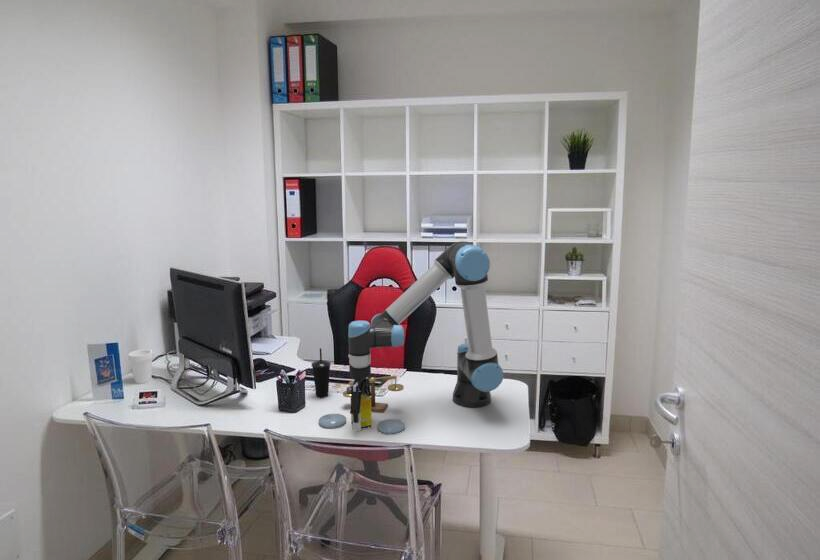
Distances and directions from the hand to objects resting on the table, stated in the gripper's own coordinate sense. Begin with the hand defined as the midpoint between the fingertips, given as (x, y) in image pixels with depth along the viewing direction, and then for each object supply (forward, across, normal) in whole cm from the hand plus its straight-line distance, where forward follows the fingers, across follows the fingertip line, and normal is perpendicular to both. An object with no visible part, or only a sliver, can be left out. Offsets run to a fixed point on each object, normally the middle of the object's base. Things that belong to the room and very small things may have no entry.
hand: (361, 423), depth 208 cm
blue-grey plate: (+1, 0, +11) cm, 11 cm away
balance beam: (-4, -15, 0) cm, 16 cm away
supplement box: (+1, 0, 0) cm, 1 cm away
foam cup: (+1, -22, -106) cm, 109 cm away
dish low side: (+1, 0, -11) cm, 11 cm away
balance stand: (+1, -15, 0) cm, 15 cm away
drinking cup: (+1, -23, -24) cm, 33 cm away
